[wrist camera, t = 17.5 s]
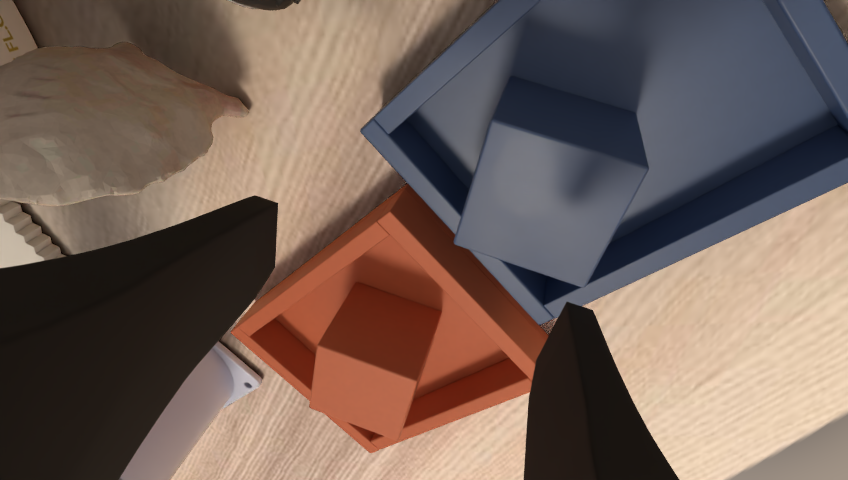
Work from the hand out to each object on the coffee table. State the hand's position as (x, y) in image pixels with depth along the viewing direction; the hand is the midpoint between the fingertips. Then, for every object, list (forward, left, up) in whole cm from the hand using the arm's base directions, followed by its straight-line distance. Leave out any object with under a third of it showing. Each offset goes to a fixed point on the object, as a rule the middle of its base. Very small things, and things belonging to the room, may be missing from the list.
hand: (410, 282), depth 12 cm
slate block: (+2, -2, -9) cm, 9 cm away
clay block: (-10, -5, -9) cm, 14 cm away
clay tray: (-10, -5, -9) cm, 15 cm away
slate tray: (+4, -2, -9) cm, 10 cm away
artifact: (-8, +10, -9) cm, 16 cm away
